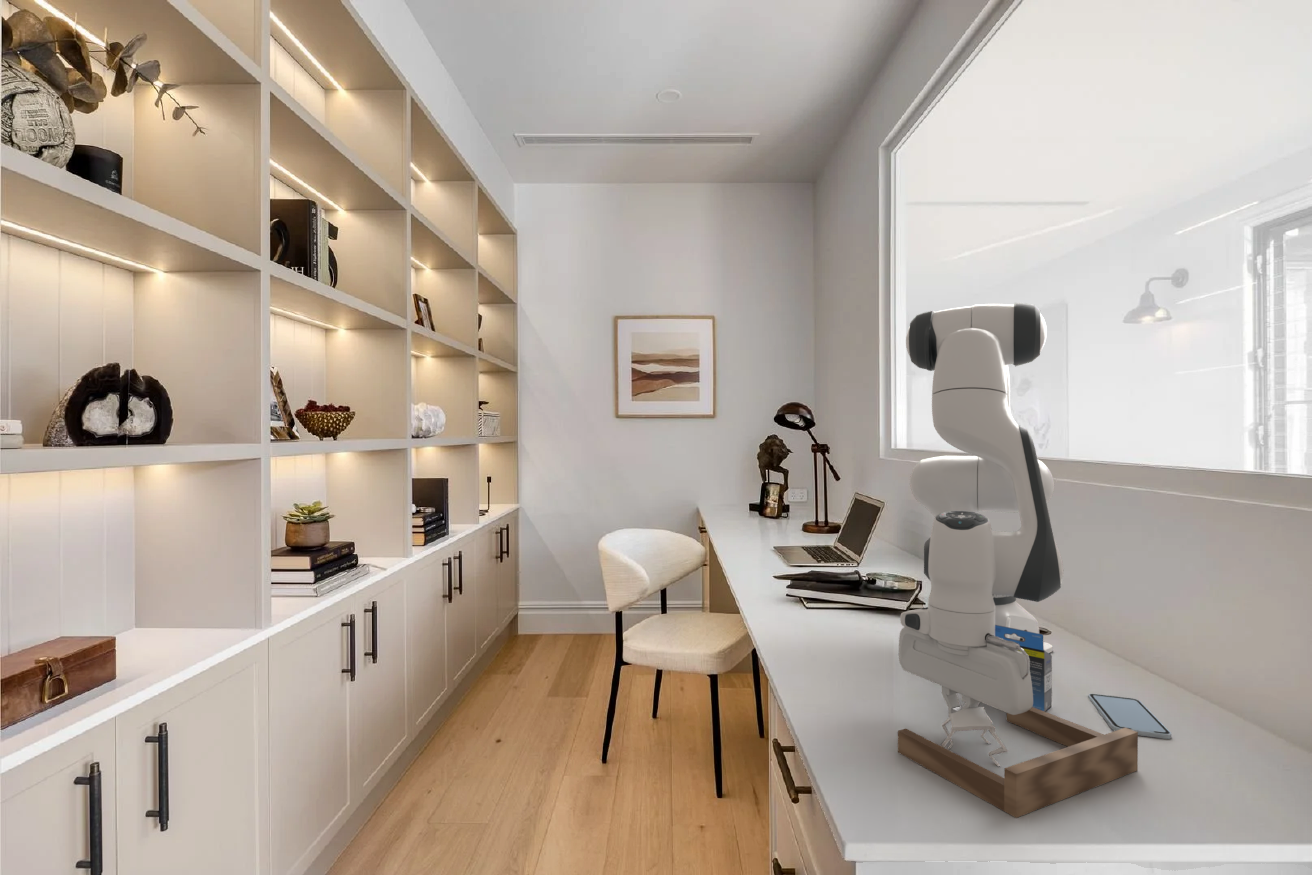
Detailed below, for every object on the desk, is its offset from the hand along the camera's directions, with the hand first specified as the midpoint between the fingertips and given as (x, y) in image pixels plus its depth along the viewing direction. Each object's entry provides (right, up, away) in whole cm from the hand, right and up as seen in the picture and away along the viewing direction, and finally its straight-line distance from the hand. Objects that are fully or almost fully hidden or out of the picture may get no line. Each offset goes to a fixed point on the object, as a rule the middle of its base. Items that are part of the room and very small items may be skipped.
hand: (960, 721), depth 97 cm
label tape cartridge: (+15, -2, +12) cm, 20 cm away
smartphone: (+29, -3, +7) cm, 30 cm away
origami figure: (0, -2, -5) cm, 6 cm away
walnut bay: (+4, -2, -7) cm, 8 cm away
